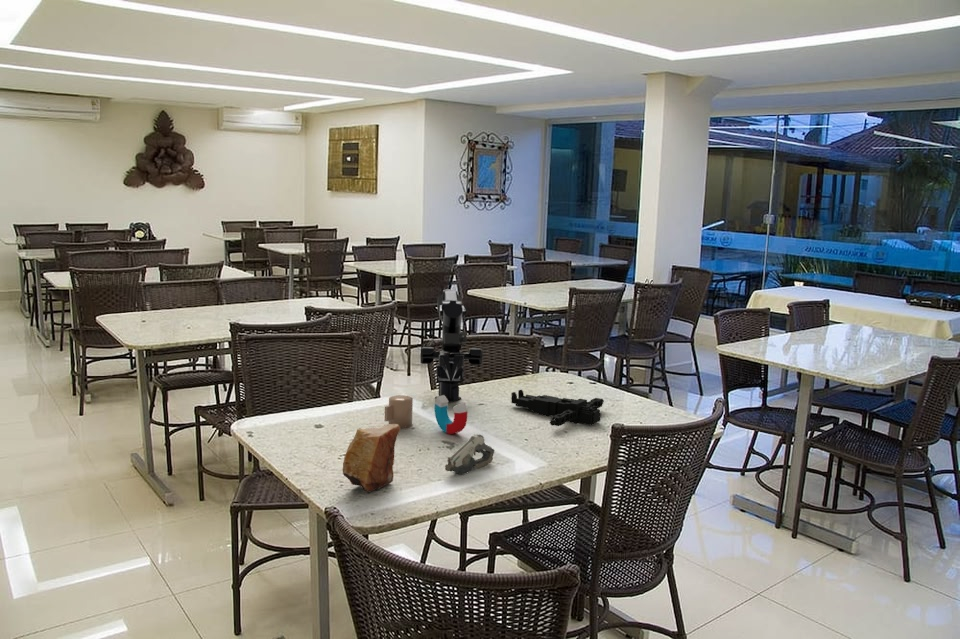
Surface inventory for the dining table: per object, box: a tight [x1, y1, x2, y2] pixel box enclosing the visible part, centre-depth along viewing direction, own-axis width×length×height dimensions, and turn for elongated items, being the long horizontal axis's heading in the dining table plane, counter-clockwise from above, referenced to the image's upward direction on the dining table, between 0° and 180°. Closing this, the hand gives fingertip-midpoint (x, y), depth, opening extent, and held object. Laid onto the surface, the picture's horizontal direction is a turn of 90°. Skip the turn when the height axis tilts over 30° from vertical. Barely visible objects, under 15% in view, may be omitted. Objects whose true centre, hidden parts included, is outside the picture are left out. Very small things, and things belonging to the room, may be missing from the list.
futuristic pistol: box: [444, 433, 495, 475], centre depth 185 cm, size 2×15×10 cm, turn 134°
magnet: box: [434, 395, 468, 435], centre depth 211 cm, size 12×3×10 cm, turn 42°
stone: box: [342, 423, 401, 493], centre depth 171 cm, size 14×9×15 cm, turn 130°
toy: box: [510, 389, 605, 427], centre depth 232 cm, size 31×6×30 cm
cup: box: [384, 394, 414, 429], centre depth 216 cm, size 7×9×8 cm
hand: (451, 380), depth 218 cm, fingers closed
